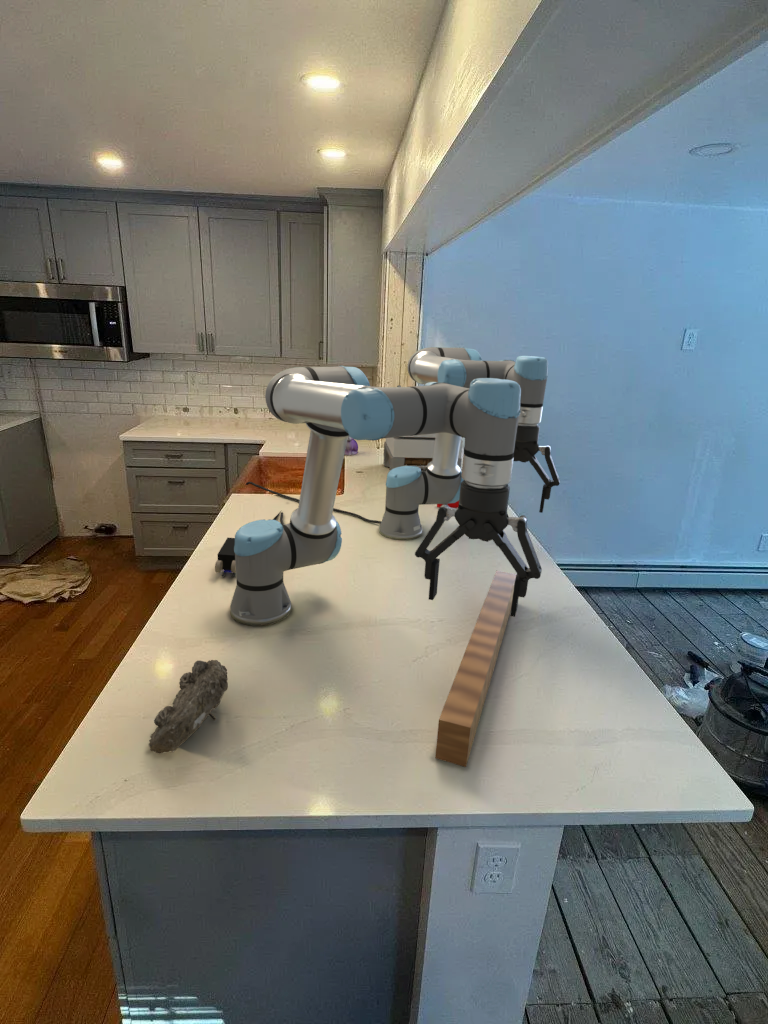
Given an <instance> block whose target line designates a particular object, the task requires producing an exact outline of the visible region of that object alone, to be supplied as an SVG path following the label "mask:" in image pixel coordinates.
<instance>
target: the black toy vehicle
mask: <svg viewBox="0 0 768 1024" xmlns="http://www.w3.org/2000/svg"><path fill="white" fill-rule="evenodd" d="M234 546H235V537H226V539H225V541H224V543H223V544H222V546H221V547H220V549H219V551H218V552H217V560H216V562H215V564H214V572H215V573H221V577H222V578H224V577H225V576H226V574H227V573H230V574H231V573H232V574H231V578H234V577H235V576H236V563H235V552H234Z"/></svg>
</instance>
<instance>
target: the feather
mask: <svg viewBox="0 0 768 1024" xmlns="http://www.w3.org/2000/svg"><path fill="white" fill-rule="evenodd" d="M281 512H283V511H282V510H280V512H279V513H277V514H276V516H275V517H273V519H272V520H276V521H277V520H278V518H279V516H280V515H281Z"/></svg>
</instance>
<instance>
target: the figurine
mask: <svg viewBox="0 0 768 1024" xmlns="http://www.w3.org/2000/svg"><path fill="white" fill-rule="evenodd" d="M358 451H359V444H358V442H357V440H355V439H353V438H351V437H348V439H347V443H346V448H345V453H344V456H351V455H352V456H354V455H357V454H358Z"/></svg>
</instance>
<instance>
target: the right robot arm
mask: <svg viewBox="0 0 768 1024" xmlns="http://www.w3.org/2000/svg"><path fill="white" fill-rule="evenodd" d="M548 370H549V360H548V359H547V358H546V357H544V356H537V355H535V356H534V355H519V356H517V357H516V359H515V361H514V360H513V359H500V360H483V359H482V356H481V354H480V352H479V351H478V350H477V349H474V348H467V347H464V346H463V347H437V346H430V347H424V348H421V349H418V350H417V351H415V352H413V353H412V355H411V356H410V357H409V359H408V362H407V373H408V376H409V377H410V378H411V379H412V381H413V382H414V383H417V384H420V385H425V384H426V383H429V382H440V383H441V382H446V383H450V384H452V385H456V386H460V387H465V388H469V389H470V384H471V382H472V381H473V380H474V379H477V378H497V379H506V380H512V381H515V382H517V383H518V384H519V385H520V388H521V399H520V410H521V412H520V415H519V421H518V427H517V433H516V441H515V448H514V460H513V462H520V463H528V462H529V463H530V465H531V466H532V467H533V468H534V470H535V471H536V473H537V475H538V476H539V477H540V479H541V480H542V482H543V485H542V491H541V497H540V504H539V510H538V513H541V514H543V512H544V508H545V501H546V500H550V498H551V494H552V493H551V492H552V488H553V487H555V486H556V487H558V486H560V483H561V480H560V479H561V478H560V477H559V474H558V471H557V469H556V468H557V467H556V465H555V462H554V459H553V457H552V454H551V451H552V447H551V444H546V445H540V444H539V438H540V429H541V426H540V425H539V424H540V423H541V422H542V415H543V409H544V400H545V394H546V389H547V388H546V387H547V381H548V376H549V373H548V372H549V371H548ZM461 440H462V438H461V437H460V436H457V435H454V434H450V433H436V437H435V444H434V451H433V459H432V461H431V462H430V463H428V465H427V466H426V470H422V469H421V467H420V466H407V465H404V466H401V467H397V468H394V469H392V470H390V469H389V470H388V472H387V475H386V480H385V504H384V505H385V507H384V508H385V509H384V513H383V515H382V519H381V520H375V519H369V518H366V517H364V516H362V515H360V514H357V513H355V512H350V511H348V510H343V509H340V508H339V509H338V508H334V507H333V512H336V513H340V514H345V515H350V516H352V517H355V518H358V519H360V520H361V521H364V522H367V523H371V524H379V526H378V533H379V534H380V535H381V536H382V537H385V538H387V539H389V540H395V541H410V540H415V539H418V538H420V537H421V536H422V535H423V525H422V524H421V518H420V515H419V507H420V505H437V504H449V503H456V502H457V501H459V497H460V486H461V482H462V481H463V480H464V479H463V478H462V476H461V475H462V470H461V471H460V467H459V466H458V465H457V461H458V455H459V449H460V442H461ZM539 452H540V453H541V455H542V456H544V459H545V463H546V465H547V468H548V470H549V474H550V476H551V478H550V476H549V475H548V474H547V472H546V471H545V469H544V468H543V465H541V463H540V462H539V460H538V458H537V456H536V455H537V453H539ZM249 485H252V486H253V487H256V488H258V489H261V490H263V491H266V492H267V493H270V494H273V495H276V496H279V497H282V498H284V499H288V500H291V501H293V502H297V503H299V500H300V498H295V497H292V496H289V495H286V494H282V493H280V492H277V491H275V490H272V489H269V488H266V487H264V486H262V485H259V484H256V483H254V482H252V481H247V482H246V483H245V486H249Z"/></svg>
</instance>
